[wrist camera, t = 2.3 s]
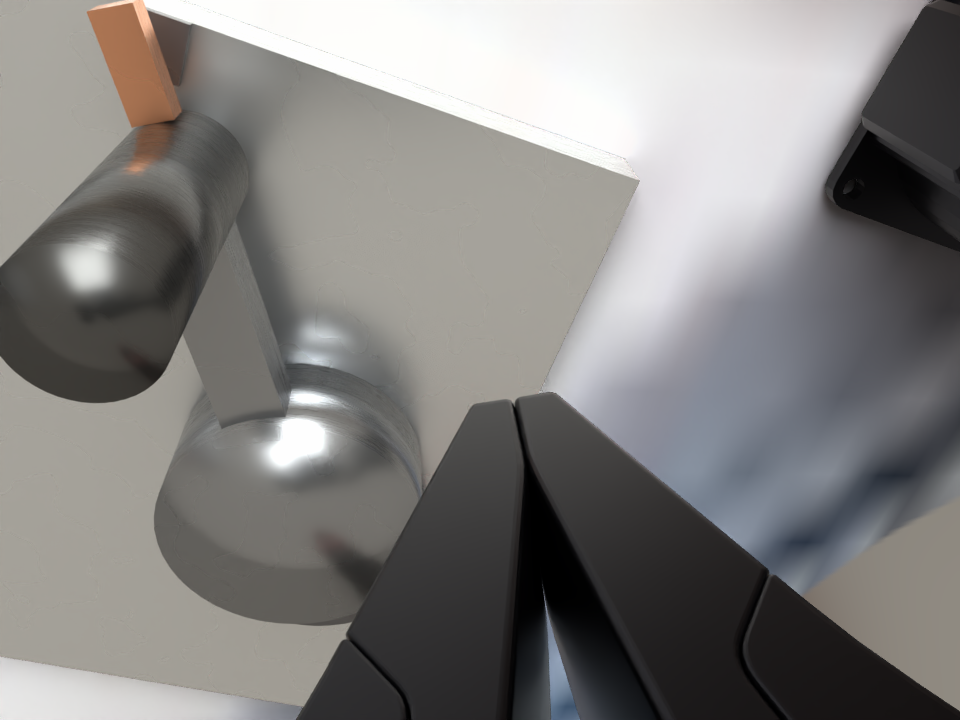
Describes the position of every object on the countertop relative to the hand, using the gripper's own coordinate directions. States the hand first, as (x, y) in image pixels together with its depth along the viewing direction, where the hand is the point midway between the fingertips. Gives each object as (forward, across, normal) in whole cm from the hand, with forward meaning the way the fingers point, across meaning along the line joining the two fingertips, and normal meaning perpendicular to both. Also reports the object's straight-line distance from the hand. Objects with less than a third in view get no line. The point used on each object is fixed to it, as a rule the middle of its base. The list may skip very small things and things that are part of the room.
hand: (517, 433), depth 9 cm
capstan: (+10, +5, +4) cm, 12 cm away
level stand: (+12, +9, +6) cm, 16 cm away
